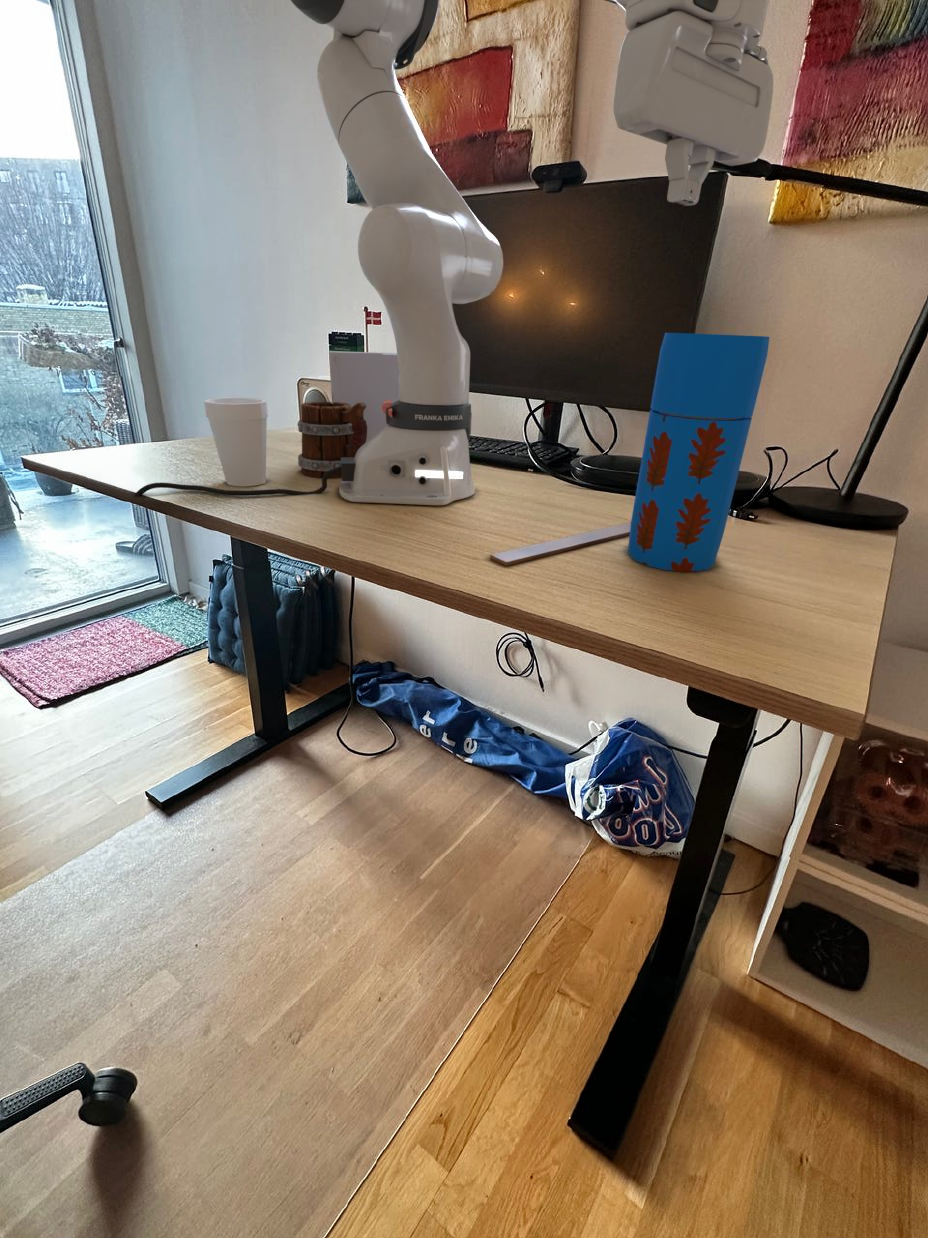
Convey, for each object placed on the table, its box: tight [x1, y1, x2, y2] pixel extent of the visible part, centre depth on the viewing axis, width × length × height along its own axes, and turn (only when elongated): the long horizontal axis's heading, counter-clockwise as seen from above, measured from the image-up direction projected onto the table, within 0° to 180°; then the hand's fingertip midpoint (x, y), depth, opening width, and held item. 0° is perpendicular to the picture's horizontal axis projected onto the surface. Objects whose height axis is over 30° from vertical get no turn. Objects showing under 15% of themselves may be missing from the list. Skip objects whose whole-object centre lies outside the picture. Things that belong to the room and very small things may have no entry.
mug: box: [297, 401, 368, 479], centre depth 104 cm, size 12×14×15 cm
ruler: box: [489, 521, 631, 567], centre depth 77 cm, size 30×3×1 cm, turn 127°
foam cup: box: [203, 397, 269, 487], centre depth 96 cm, size 10×9×13 cm
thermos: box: [627, 332, 770, 573], centre depth 67 cm, size 11×11×25 cm
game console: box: [328, 350, 399, 442], centre depth 118 cm, size 6×27×20 cm, turn 106°
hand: (682, 203), depth 59 cm, fingers closed
